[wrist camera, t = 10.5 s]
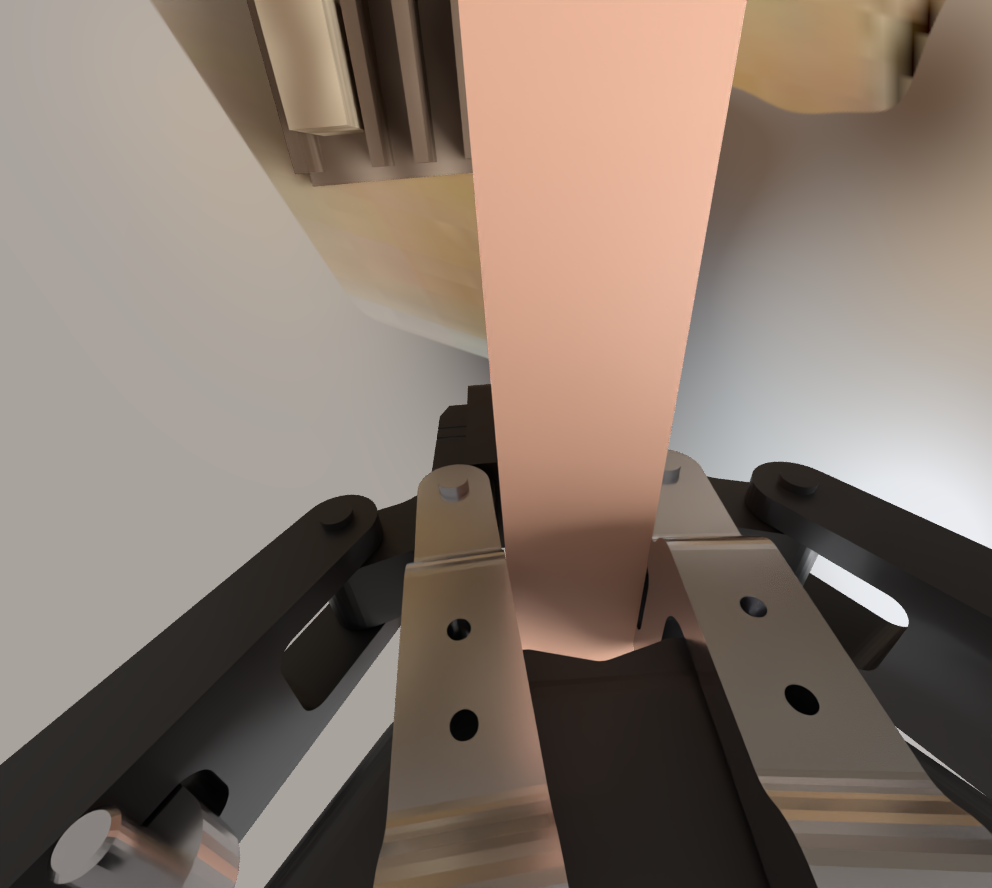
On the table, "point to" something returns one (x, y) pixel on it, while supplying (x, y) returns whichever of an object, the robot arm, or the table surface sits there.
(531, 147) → the terracotta board
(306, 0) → the offcut stack
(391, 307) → the table surface
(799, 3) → the table surface
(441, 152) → the walnut rack
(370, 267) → the table surface
